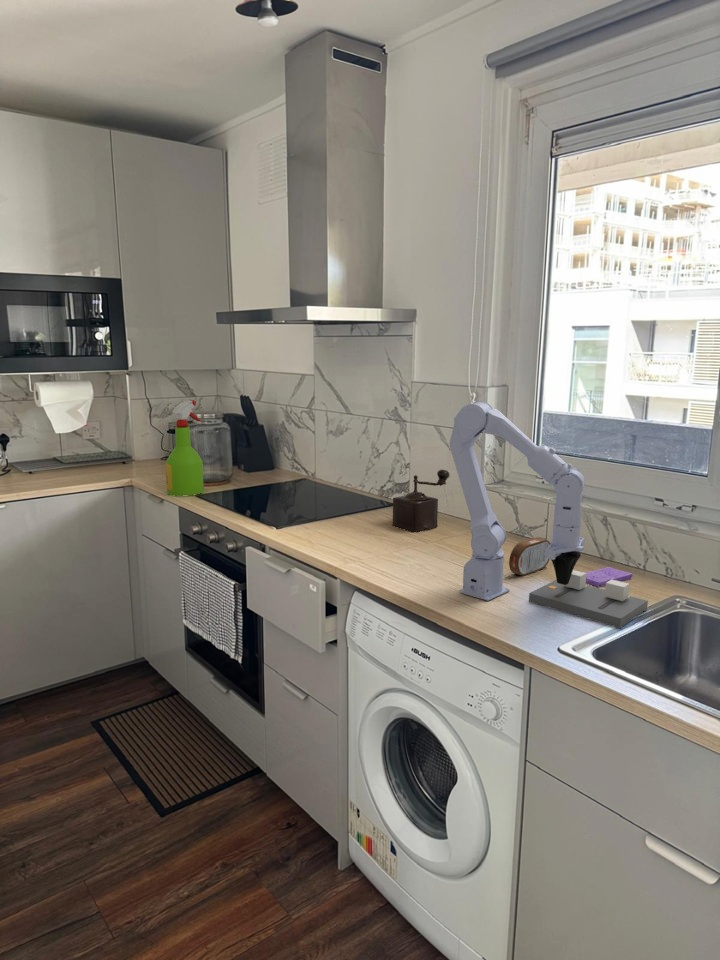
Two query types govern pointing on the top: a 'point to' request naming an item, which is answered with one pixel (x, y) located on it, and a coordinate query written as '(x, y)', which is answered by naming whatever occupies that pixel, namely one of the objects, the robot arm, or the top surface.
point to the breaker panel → (588, 603)
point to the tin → (529, 556)
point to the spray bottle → (184, 457)
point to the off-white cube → (577, 580)
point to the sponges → (606, 576)
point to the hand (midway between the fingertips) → (562, 583)
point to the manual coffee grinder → (417, 507)
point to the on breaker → (617, 590)
